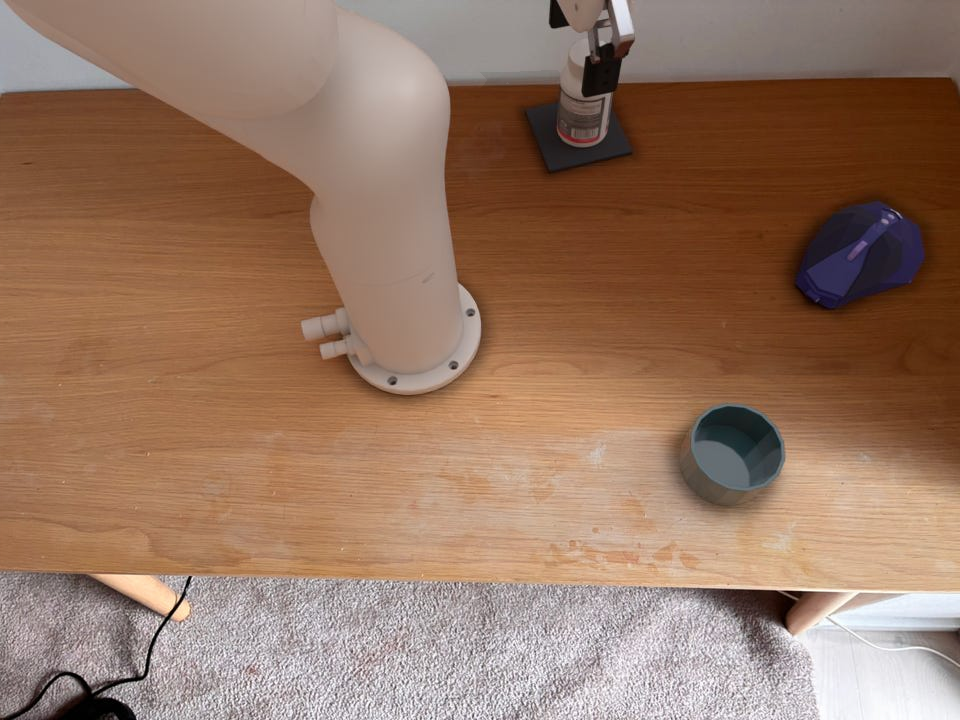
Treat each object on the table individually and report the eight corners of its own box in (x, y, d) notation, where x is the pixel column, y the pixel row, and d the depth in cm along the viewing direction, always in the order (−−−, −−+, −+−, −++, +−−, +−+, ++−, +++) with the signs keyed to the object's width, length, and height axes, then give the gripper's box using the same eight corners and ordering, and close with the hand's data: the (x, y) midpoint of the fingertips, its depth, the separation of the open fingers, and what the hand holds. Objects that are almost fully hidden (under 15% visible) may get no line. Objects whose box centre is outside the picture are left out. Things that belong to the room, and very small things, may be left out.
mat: (549, 173, 71) (549, 170, 70) (524, 112, 75) (524, 109, 74) (632, 153, 71) (632, 151, 71) (603, 93, 75) (604, 91, 75)
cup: (698, 515, 55) (712, 501, 51) (665, 435, 58) (676, 415, 54) (780, 493, 55) (801, 476, 51) (744, 414, 58) (760, 393, 54)
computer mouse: (947, 243, 65) (972, 217, 61) (853, 340, 61) (874, 318, 57) (861, 188, 68) (880, 160, 64) (767, 277, 64) (782, 252, 60)
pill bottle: (574, 104, 74) (582, 25, 66) (617, 125, 73) (630, 46, 64) (546, 135, 73) (550, 57, 64) (588, 157, 71) (598, 81, 62)
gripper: (520, -199, 52) (516, 7, 67) (594, -72, 44) (571, 130, 59) (614, -215, 53) (589, -7, 68) (703, -92, 45) (653, 113, 60)
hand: (581, 57), depth 64 cm, fingers open, 9 cm apart
